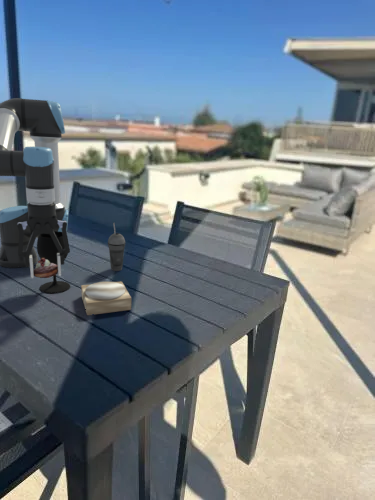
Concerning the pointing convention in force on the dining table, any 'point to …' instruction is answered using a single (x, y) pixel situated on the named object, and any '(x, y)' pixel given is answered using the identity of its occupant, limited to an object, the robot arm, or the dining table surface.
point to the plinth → (105, 297)
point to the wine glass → (51, 260)
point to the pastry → (45, 269)
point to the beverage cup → (116, 250)
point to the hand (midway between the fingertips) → (46, 275)
